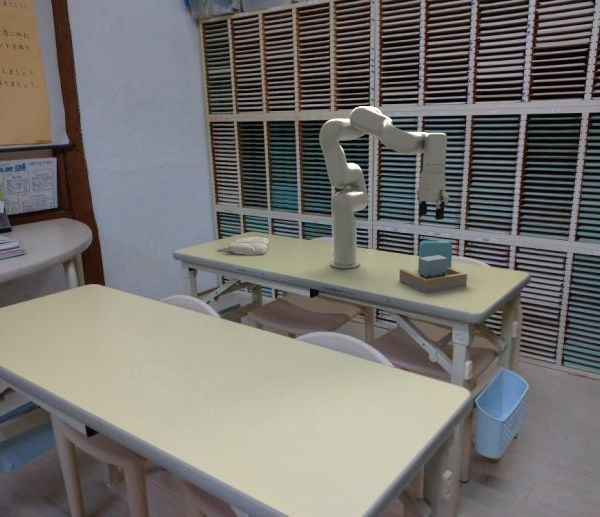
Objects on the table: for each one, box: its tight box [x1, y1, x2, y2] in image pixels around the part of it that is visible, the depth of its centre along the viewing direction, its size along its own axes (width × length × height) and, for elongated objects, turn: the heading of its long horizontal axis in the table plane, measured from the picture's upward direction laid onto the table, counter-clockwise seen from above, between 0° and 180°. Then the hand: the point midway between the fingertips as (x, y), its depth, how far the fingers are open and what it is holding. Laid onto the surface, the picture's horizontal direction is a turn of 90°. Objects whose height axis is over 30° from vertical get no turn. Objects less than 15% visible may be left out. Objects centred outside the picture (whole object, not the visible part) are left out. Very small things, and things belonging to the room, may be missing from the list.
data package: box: [418, 240, 453, 268], centre depth 199 cm, size 12×4×12 cm, turn 85°
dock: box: [399, 267, 468, 294], centre depth 184 cm, size 16×18×4 cm
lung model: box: [216, 236, 270, 256], centre depth 239 cm, size 7×17×25 cm
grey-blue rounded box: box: [417, 255, 448, 279], centre depth 183 cm, size 6×9×7 cm, turn 113°
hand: (430, 216), depth 179 cm, fingers open, 9 cm apart
